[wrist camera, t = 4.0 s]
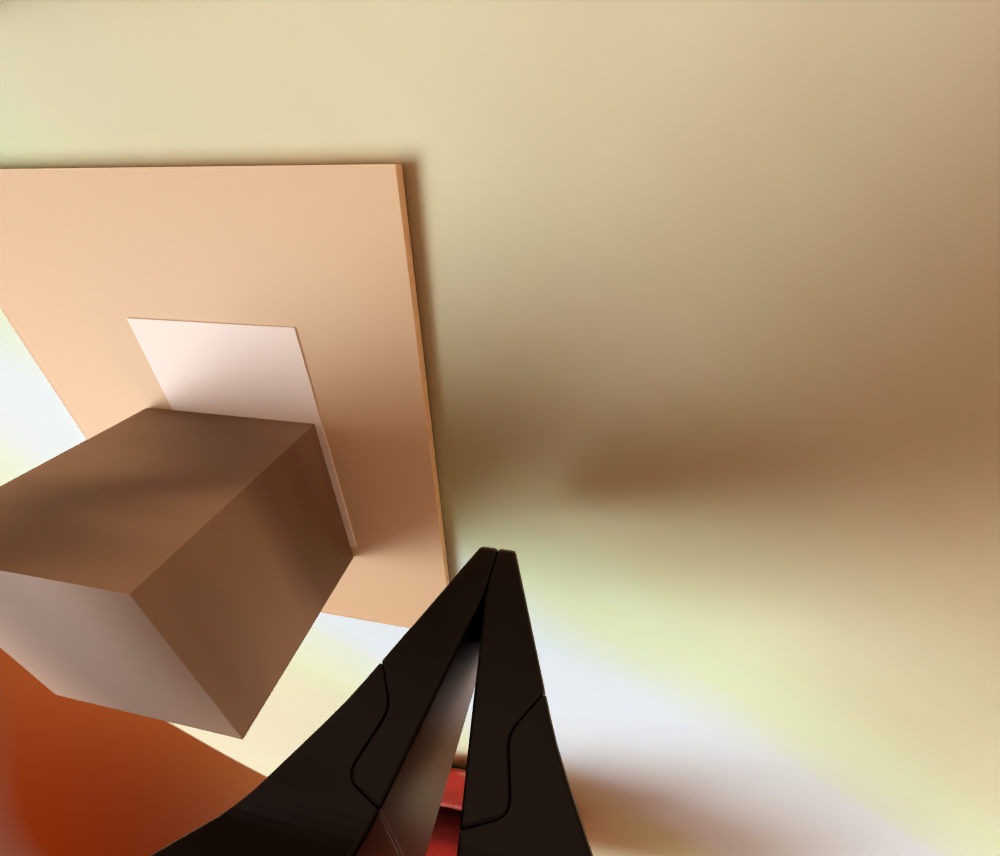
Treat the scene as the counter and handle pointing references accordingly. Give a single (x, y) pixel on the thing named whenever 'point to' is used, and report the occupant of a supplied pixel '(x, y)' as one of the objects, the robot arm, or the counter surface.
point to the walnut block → (171, 564)
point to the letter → (245, 330)
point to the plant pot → (448, 817)
